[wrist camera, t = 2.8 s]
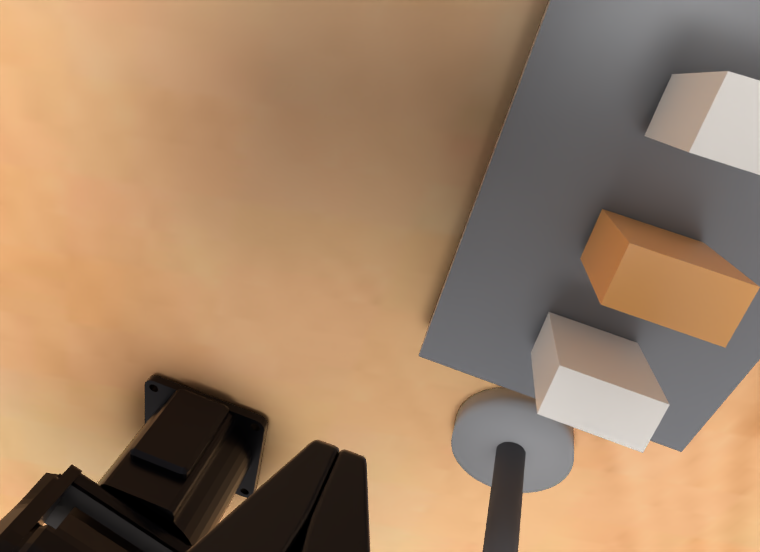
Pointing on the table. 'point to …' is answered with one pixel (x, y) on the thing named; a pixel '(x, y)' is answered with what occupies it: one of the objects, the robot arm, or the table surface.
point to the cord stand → (510, 456)
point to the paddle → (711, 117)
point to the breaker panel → (604, 199)
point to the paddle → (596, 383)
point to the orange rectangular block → (666, 278)
